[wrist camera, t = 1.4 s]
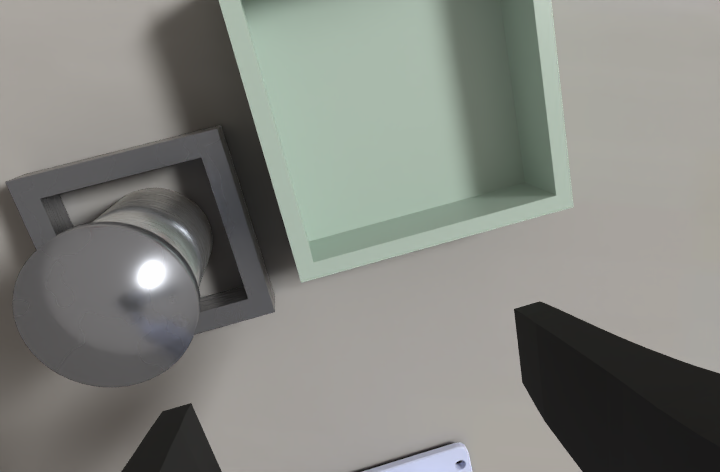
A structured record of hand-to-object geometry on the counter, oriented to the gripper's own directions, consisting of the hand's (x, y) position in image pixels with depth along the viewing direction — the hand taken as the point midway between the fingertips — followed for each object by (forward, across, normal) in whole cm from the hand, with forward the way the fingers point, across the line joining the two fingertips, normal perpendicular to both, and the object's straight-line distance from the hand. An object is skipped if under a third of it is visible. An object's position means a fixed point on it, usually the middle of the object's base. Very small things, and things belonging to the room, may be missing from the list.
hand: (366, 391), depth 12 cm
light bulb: (+11, +6, -1) cm, 12 cm away
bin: (+11, -4, -4) cm, 12 cm away
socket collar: (+11, +6, -1) cm, 12 cm away
